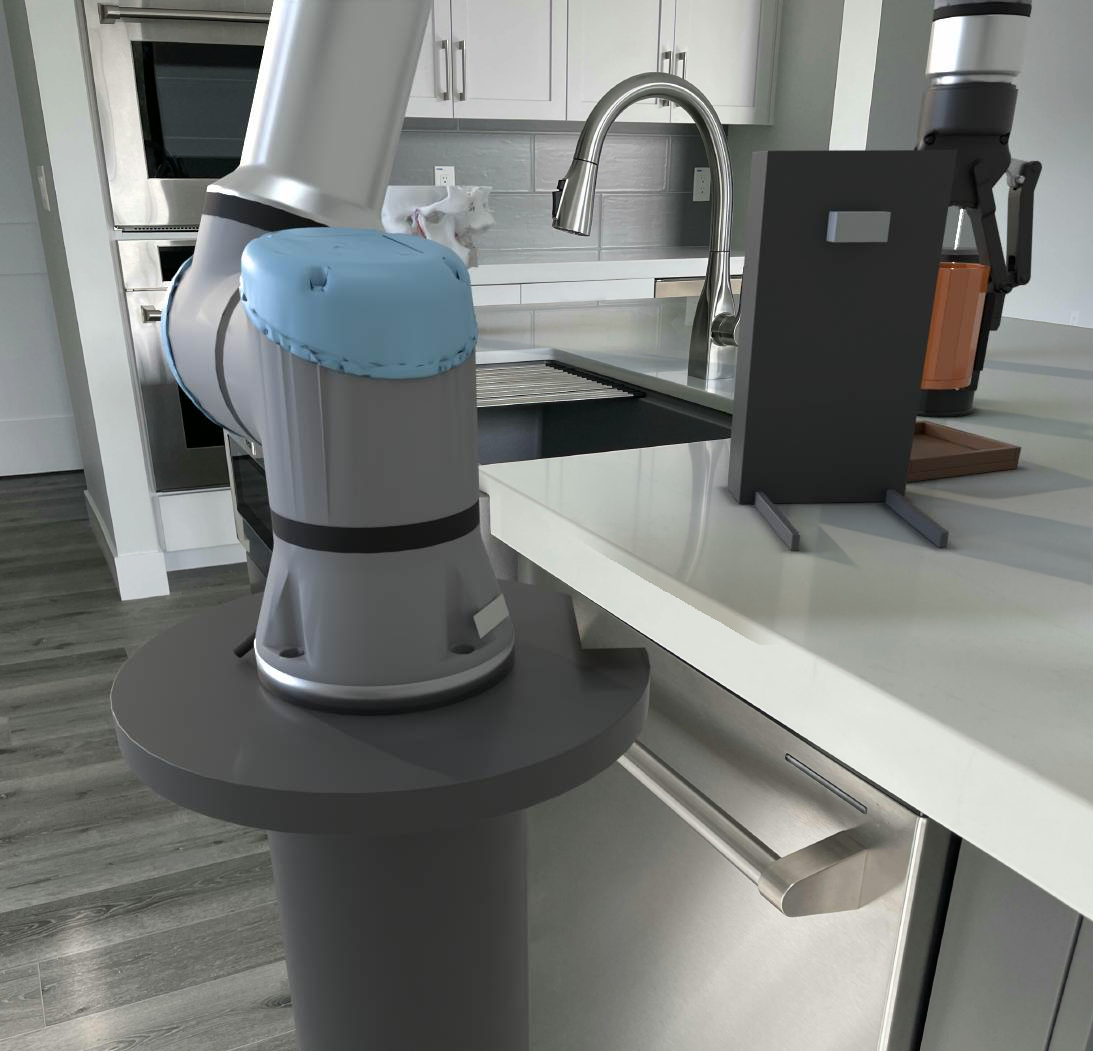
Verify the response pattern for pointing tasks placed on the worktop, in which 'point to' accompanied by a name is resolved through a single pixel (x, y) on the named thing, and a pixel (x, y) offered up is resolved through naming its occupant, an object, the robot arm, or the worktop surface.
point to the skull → (440, 215)
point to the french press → (962, 398)
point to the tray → (956, 453)
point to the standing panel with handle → (836, 327)
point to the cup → (955, 325)
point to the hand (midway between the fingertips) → (927, 368)
